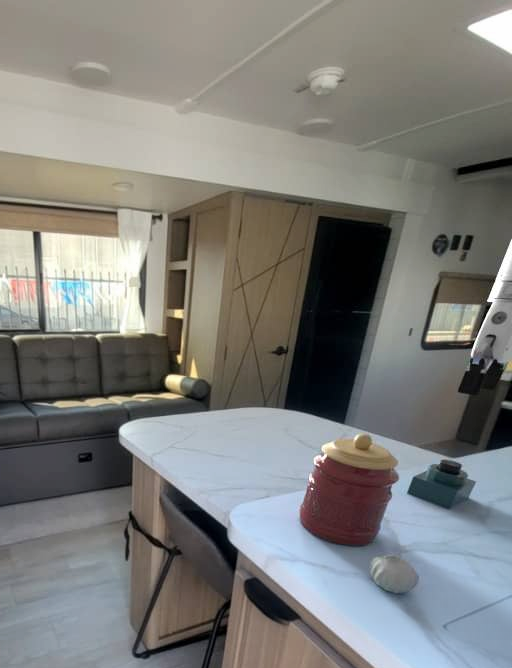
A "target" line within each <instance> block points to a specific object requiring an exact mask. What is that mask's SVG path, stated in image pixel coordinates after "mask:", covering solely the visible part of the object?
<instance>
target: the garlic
mask: <svg viewBox="0 0 512 668" xmlns="http://www.w3.org/2000/svg"><path fill="white" fill-rule="evenodd" d="M369 570H370V571H369V572H370V575H371V578H372V580H373V581H374V583H375V584H376V585H377V586H378V587H380V588H381V589H383V590H384V591H386V592H390V593H394V594H405V593H408V592H409V591H412V590H413V589H415V588H416V587H417V586H418V584H419V580H420V577H419V576H420V575H419V574H418V572H417V571H416V569H415V567H414V566H413V565H412V564H411V563H410V562H408V561H407V560H406V559H404V558H401V557H399V556H398V555H395V554H390V555H389V554H386V555H383V556H376V557H374V558H373V559H372V560H371V561H370V567H369Z"/></svg>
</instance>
